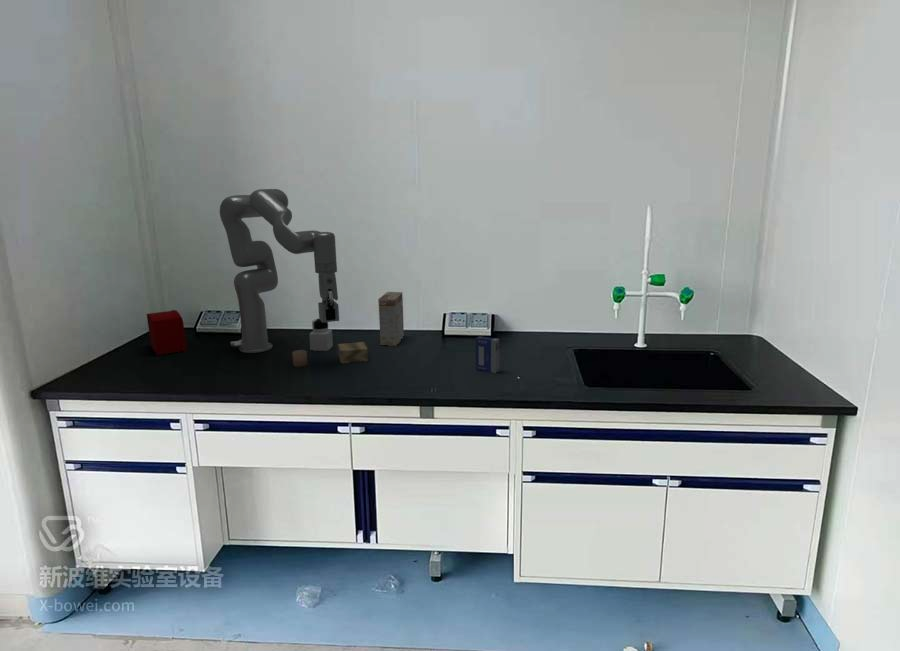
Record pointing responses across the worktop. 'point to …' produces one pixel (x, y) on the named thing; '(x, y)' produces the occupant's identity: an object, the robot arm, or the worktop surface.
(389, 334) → the coffeecake box
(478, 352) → the walkman
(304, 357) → the terracotta cylinder
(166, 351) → the fire alarm
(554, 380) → the worktop surface
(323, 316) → the grey cube
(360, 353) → the oak block
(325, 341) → the medicine bottle
